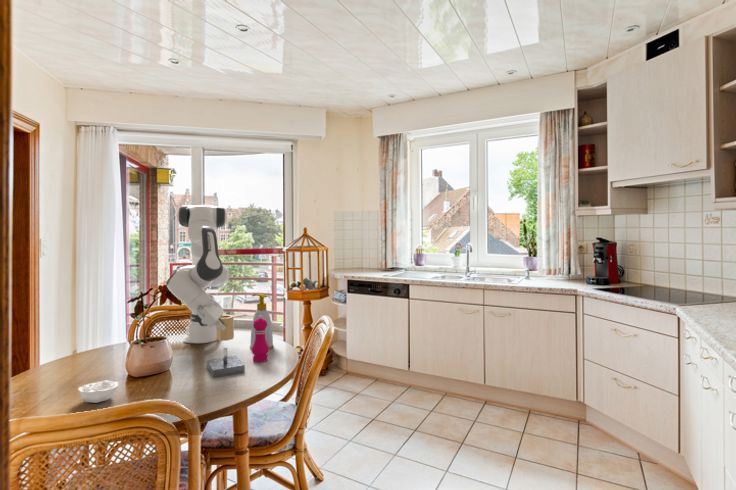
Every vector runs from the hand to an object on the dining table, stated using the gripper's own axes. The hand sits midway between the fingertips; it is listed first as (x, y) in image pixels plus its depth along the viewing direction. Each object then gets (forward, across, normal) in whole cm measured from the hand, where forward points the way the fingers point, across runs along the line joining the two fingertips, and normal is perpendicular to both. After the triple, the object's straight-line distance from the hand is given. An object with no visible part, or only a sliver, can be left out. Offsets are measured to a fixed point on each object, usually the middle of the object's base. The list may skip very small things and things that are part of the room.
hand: (226, 326), depth 165 cm
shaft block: (+12, 0, +13) cm, 18 cm away
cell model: (-14, -23, +40) cm, 48 cm away
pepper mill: (+22, +10, +4) cm, 24 cm away
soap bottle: (+21, +29, +4) cm, 36 cm away
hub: (+3, 0, +4) cm, 5 cm away
